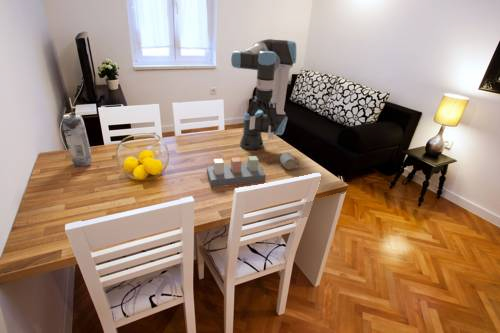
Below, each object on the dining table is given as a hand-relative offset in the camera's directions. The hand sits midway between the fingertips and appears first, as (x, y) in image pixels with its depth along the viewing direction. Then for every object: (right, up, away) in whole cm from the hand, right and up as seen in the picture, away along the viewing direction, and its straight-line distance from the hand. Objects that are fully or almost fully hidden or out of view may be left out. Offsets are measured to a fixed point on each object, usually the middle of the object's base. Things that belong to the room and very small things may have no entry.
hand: (260, 133), depth 133 cm
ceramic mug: (+17, -16, +27) cm, 36 cm away
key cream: (-21, -19, +8) cm, 30 cm away
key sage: (-4, -18, +13) cm, 22 cm away
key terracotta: (-13, -19, +11) cm, 25 cm away
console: (-13, -22, +12) cm, 28 cm away
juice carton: (-95, -14, +16) cm, 97 cm away
